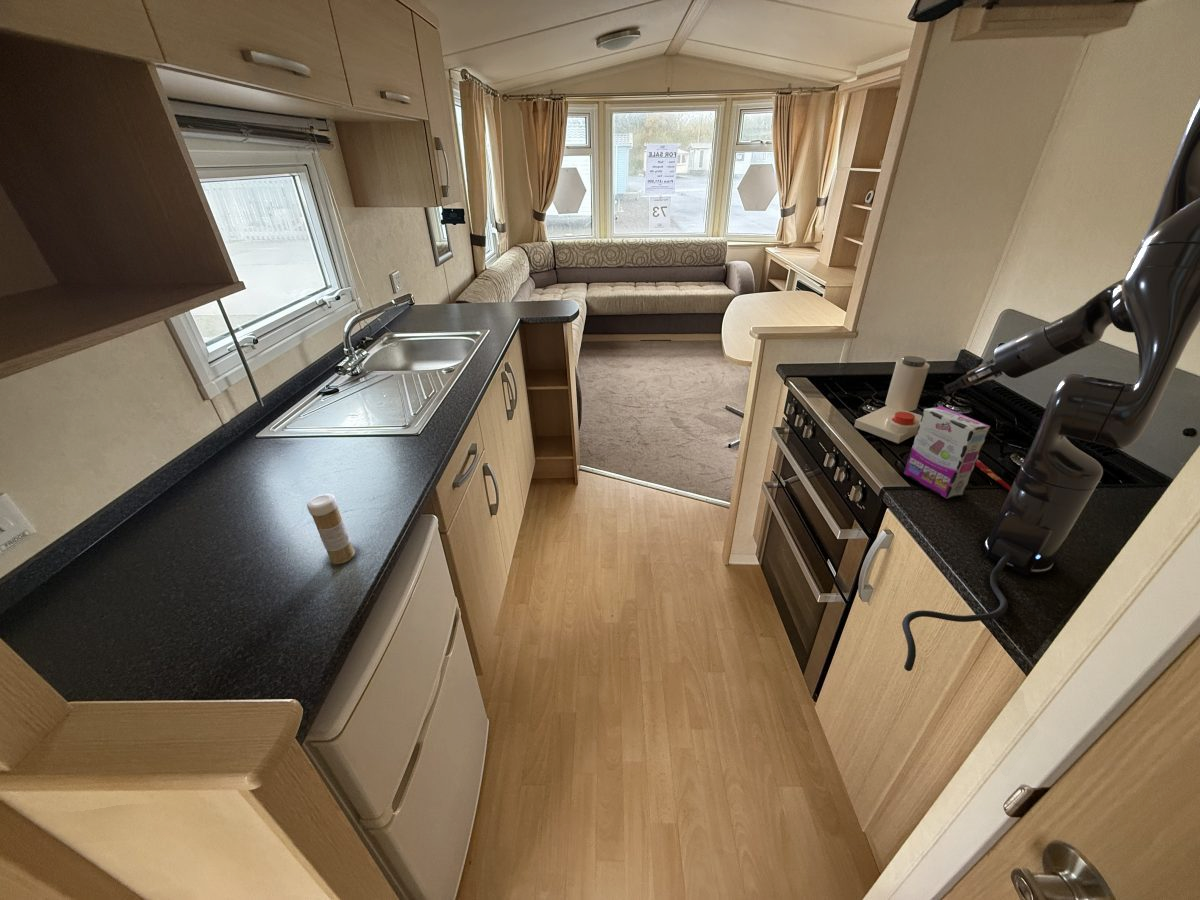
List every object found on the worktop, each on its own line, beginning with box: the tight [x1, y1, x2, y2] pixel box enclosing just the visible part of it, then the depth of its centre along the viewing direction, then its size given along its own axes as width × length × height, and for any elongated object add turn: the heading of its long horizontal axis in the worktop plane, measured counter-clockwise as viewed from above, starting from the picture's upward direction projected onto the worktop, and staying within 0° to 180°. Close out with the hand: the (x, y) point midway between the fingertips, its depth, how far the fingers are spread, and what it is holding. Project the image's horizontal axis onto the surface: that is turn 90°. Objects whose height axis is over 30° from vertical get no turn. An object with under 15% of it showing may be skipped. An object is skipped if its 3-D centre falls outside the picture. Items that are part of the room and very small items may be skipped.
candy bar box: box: [903, 405, 991, 499], centre depth 101 cm, size 11×5×16 cm, turn 17°
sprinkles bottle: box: [306, 493, 356, 565], centre depth 89 cm, size 5×5×14 cm
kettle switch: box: [893, 412, 915, 425], centre depth 123 cm, size 4×4×2 cm
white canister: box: [884, 355, 931, 412], centre depth 128 cm, size 8×8×13 cm
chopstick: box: [974, 458, 1012, 492], centre depth 108 cm, size 2×24×1 cm, turn 179°
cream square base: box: [853, 405, 923, 444], centre depth 128 cm, size 16×13×4 cm
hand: (946, 389), depth 113 cm, fingers closed
